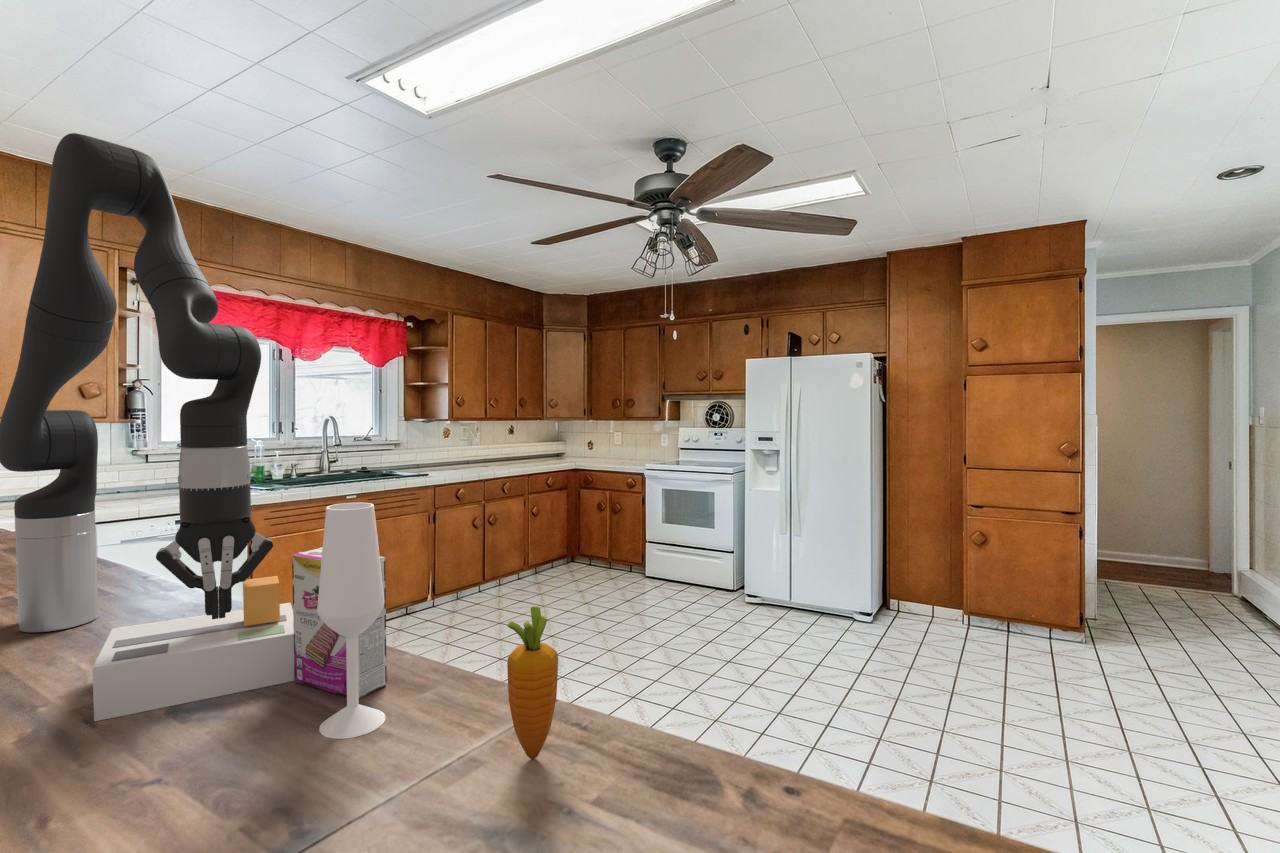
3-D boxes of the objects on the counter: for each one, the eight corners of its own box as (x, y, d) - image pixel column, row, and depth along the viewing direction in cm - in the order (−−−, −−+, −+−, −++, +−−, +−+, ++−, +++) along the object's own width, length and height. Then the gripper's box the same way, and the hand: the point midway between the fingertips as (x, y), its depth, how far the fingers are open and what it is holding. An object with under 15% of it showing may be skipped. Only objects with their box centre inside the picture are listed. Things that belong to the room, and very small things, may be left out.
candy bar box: (291, 684, 80) (289, 553, 79) (325, 668, 84) (324, 545, 84) (356, 702, 75) (354, 564, 74) (389, 685, 80) (387, 555, 79)
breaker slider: (243, 617, 85) (242, 579, 85) (278, 611, 87) (277, 575, 87) (244, 626, 82) (243, 587, 82) (279, 620, 84) (279, 582, 84)
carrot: (535, 779, 60) (535, 622, 60) (496, 763, 63) (496, 612, 62) (568, 755, 64) (568, 608, 64) (530, 740, 67) (530, 599, 66)
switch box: (114, 674, 82) (112, 627, 82) (291, 643, 93) (290, 601, 93) (94, 721, 70) (92, 667, 70) (299, 679, 81) (299, 632, 81)
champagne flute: (334, 746, 66) (330, 514, 65) (309, 723, 70) (305, 506, 69) (396, 722, 71) (394, 506, 70) (369, 702, 75) (367, 499, 74)
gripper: (274, 475, 88) (276, 600, 89) (153, 482, 81) (156, 617, 81) (277, 482, 81) (279, 616, 82) (146, 489, 74) (150, 636, 75)
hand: (218, 616), depth 82 cm, fingers closed
